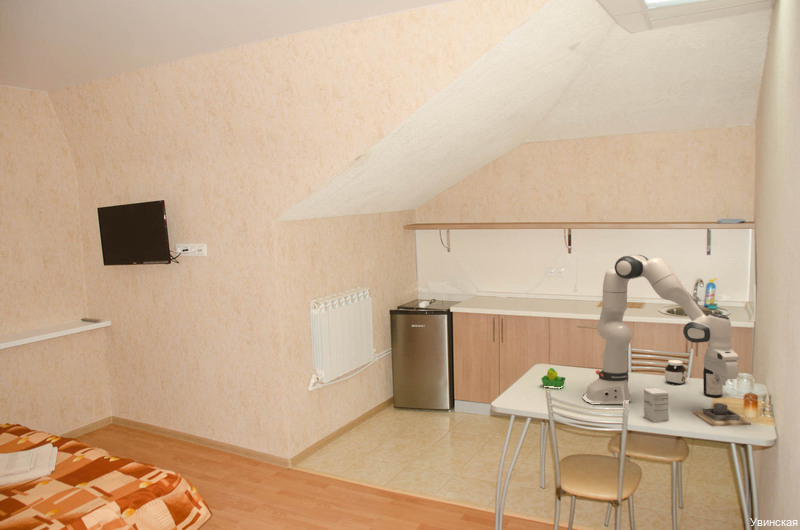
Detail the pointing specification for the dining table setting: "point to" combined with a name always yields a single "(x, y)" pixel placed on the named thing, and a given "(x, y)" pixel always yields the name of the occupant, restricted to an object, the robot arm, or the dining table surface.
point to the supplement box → (656, 405)
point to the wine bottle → (711, 384)
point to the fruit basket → (553, 379)
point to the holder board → (720, 418)
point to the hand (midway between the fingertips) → (720, 384)
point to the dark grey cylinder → (720, 409)
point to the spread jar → (675, 372)
